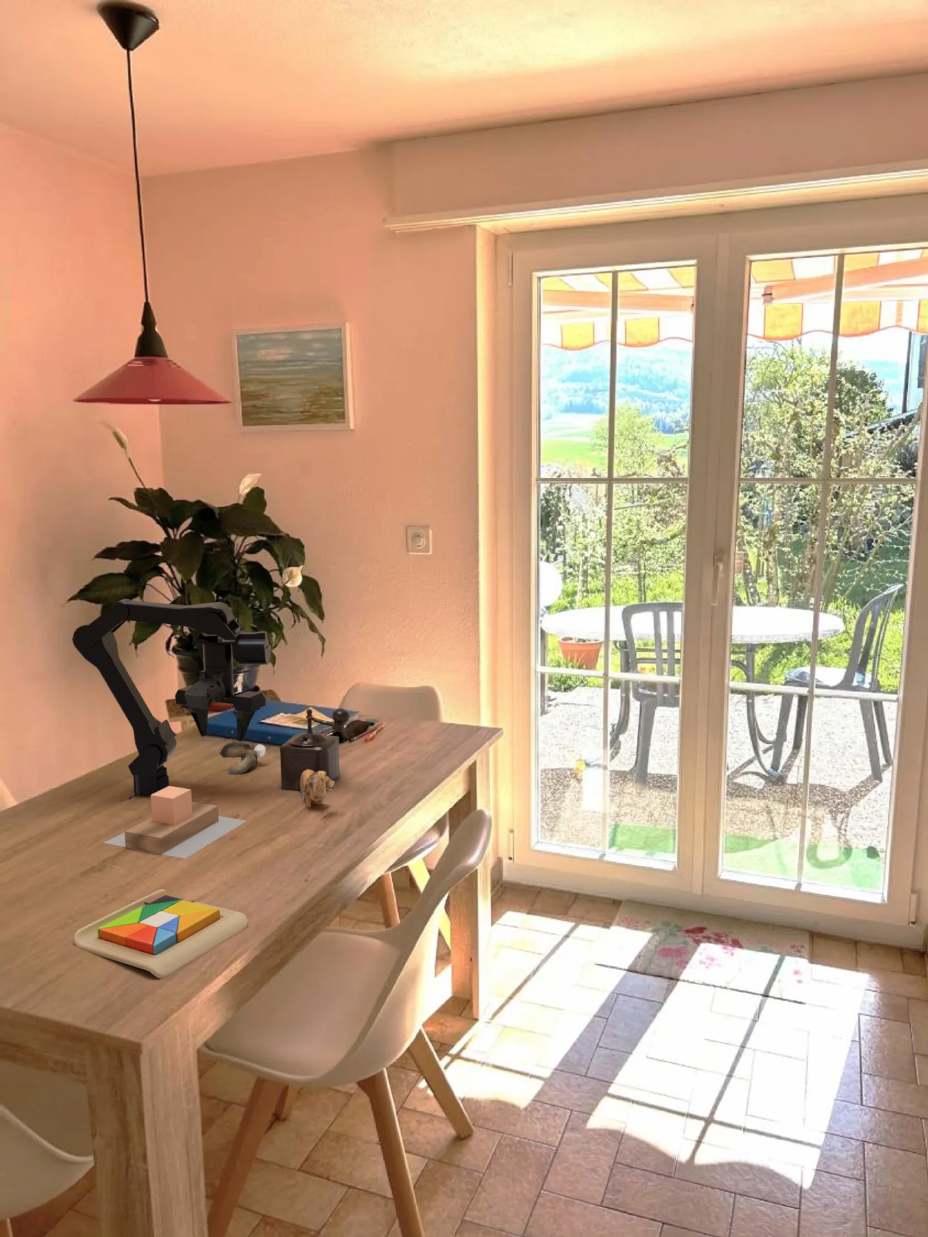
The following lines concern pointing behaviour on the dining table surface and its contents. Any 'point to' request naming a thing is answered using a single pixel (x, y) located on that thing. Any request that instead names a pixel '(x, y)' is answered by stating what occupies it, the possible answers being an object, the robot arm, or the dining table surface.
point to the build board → (192, 838)
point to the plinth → (170, 830)
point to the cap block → (171, 805)
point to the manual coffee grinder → (312, 751)
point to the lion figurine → (314, 786)
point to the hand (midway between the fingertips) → (221, 738)
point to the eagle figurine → (242, 755)
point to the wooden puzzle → (160, 933)
